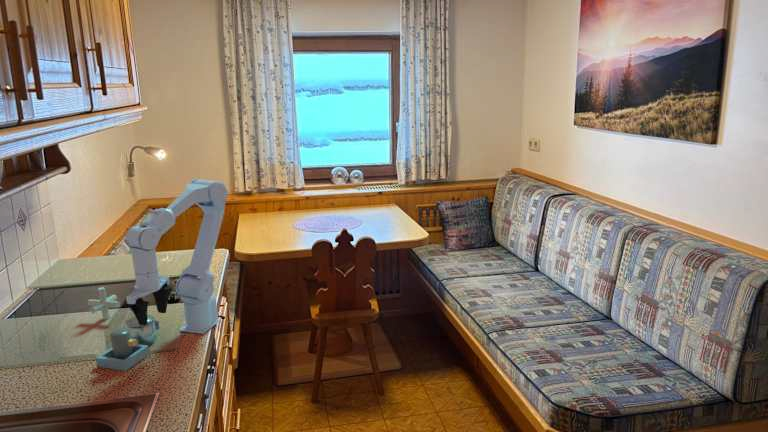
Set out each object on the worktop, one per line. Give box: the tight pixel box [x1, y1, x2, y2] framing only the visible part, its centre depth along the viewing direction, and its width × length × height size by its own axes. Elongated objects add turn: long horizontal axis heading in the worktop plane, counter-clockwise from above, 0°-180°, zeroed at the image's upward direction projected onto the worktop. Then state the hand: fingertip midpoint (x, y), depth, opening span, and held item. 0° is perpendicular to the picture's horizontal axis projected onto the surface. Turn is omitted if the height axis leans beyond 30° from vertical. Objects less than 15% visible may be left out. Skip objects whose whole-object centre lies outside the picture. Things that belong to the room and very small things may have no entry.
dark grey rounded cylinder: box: [109, 328, 137, 360], centre depth 147 cm, size 5×6×8 cm
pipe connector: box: [87, 286, 121, 321], centre depth 172 cm, size 10×10×10 cm
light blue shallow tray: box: [95, 344, 151, 372], centre depth 148 cm, size 9×9×2 cm
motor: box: [126, 314, 160, 347], centre depth 157 cm, size 11×7×7 cm
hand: (152, 318), depth 151 cm, fingers open, 7 cm apart
